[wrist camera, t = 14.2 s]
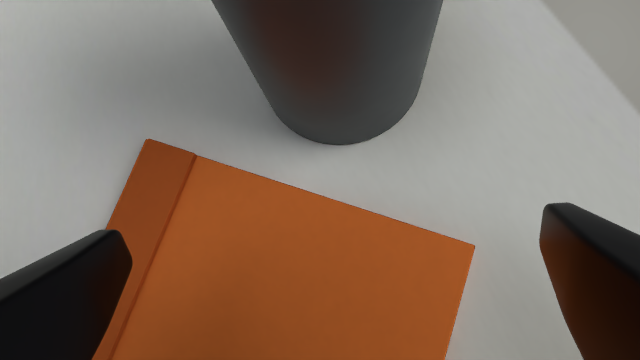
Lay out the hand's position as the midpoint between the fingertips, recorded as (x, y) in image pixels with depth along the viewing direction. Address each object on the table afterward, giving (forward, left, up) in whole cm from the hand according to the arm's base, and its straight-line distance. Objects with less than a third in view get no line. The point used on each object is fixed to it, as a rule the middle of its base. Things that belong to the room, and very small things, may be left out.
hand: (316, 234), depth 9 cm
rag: (-4, +1, -7) cm, 8 cm away
